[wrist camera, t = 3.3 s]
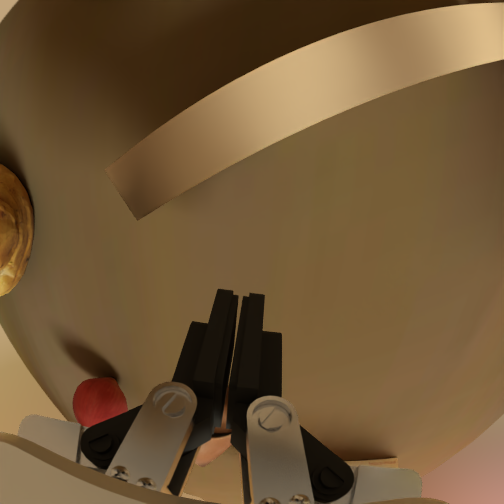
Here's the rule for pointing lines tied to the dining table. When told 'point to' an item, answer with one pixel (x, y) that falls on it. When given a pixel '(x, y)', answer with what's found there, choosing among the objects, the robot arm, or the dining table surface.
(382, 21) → the strip
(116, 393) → the red round fruit
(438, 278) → the dining table surface
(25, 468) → the robot arm
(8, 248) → the bread roll
